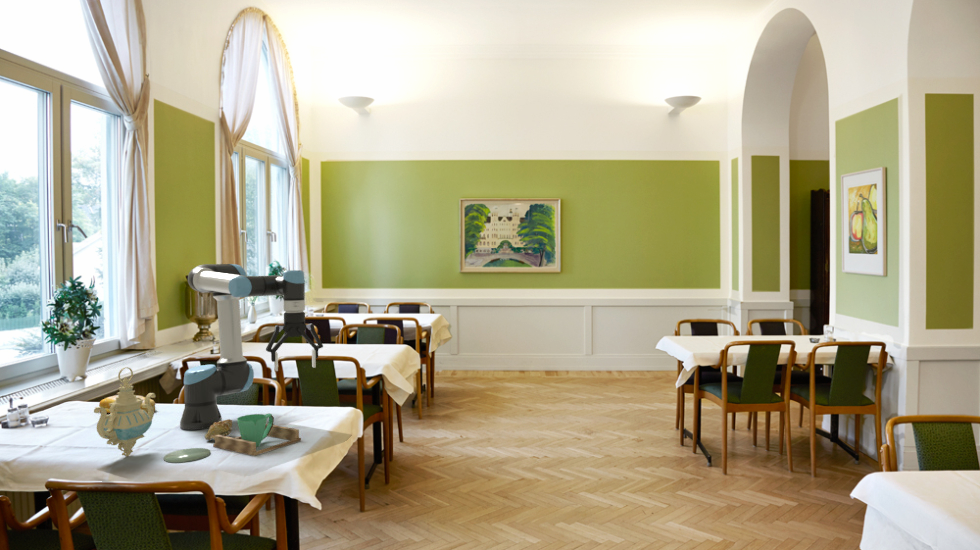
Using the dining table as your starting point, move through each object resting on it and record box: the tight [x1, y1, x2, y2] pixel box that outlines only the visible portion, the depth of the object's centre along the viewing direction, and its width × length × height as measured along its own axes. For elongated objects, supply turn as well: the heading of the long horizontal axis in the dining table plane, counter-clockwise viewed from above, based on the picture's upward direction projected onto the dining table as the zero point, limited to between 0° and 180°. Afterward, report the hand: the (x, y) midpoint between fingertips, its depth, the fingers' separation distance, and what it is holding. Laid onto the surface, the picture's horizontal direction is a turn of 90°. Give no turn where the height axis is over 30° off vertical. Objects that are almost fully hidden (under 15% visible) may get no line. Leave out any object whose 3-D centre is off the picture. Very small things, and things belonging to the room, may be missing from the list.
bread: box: [98, 394, 156, 413], centre depth 268 cm, size 13×26×8 cm, turn 71°
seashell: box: [204, 418, 233, 441], centre depth 227 cm, size 9×8×10 cm
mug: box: [236, 413, 275, 448], centre depth 219 cm, size 15×10×10 cm
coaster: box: [163, 447, 211, 464], centre depth 205 cm, size 14×14×1 cm
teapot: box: [93, 366, 156, 457], centre depth 206 cm, size 24×12×30 cm, turn 167°
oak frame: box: [213, 423, 302, 457], centre depth 219 cm, size 22×20×4 cm
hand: (295, 368), depth 227 cm, fingers open, 13 cm apart
